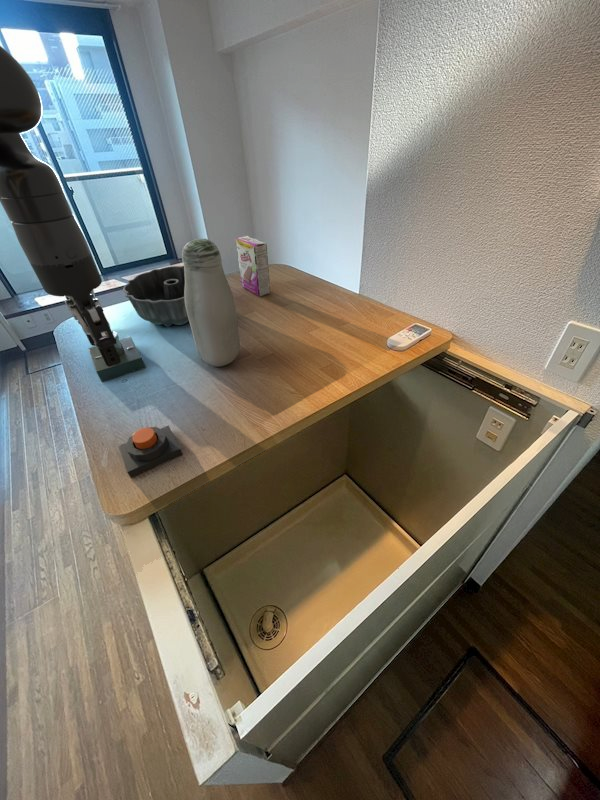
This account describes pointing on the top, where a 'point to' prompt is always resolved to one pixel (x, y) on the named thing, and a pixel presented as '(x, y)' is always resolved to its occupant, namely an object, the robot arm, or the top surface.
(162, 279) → the bundt pan
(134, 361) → the panel
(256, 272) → the candy bar box
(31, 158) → the robot arm
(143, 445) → the button
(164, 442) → the button block
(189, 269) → the off-white tall tapered cylinder
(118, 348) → the dial
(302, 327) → the top surface
